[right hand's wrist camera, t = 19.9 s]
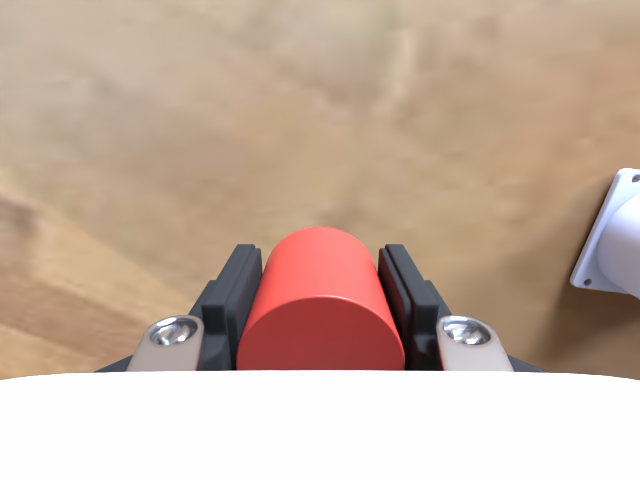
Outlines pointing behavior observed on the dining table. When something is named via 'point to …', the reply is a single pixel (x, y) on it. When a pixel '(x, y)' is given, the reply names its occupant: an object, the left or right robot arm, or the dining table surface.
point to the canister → (320, 309)
